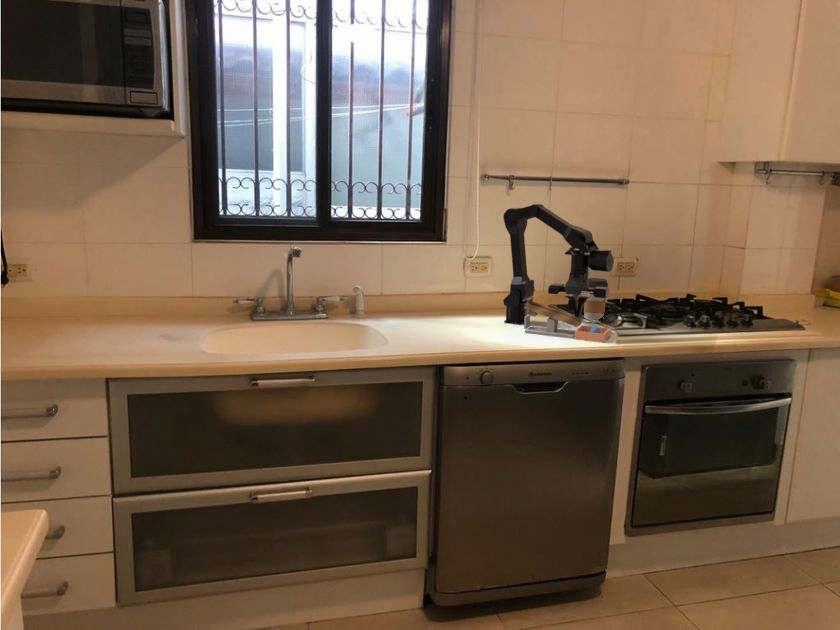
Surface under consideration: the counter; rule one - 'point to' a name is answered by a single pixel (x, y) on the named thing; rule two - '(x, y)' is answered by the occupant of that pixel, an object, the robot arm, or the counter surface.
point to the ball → (595, 330)
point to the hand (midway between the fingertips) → (577, 316)
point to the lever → (551, 313)
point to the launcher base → (548, 329)
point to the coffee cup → (595, 300)
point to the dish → (592, 334)
